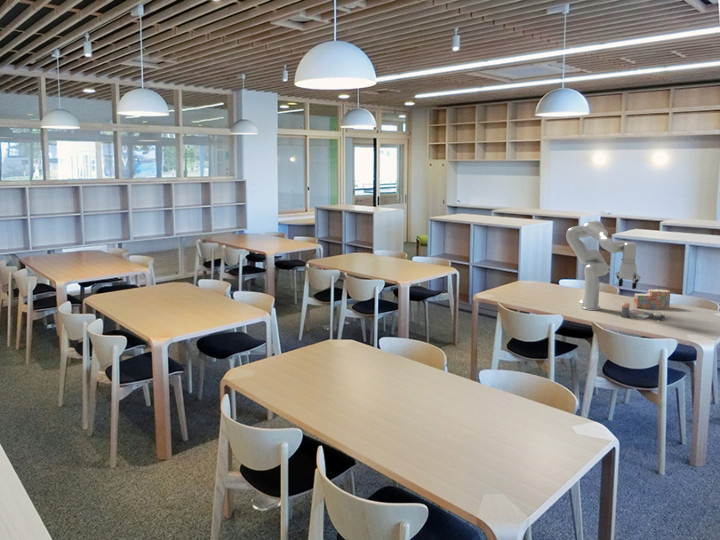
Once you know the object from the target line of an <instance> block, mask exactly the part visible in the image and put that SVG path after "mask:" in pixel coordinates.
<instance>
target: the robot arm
mask: <svg viewBox="0 0 720 540" xmlns="http://www.w3.org/2000/svg"><path fill="white" fill-rule="evenodd" d="M565 234H566V235H565V238H566V241H567V244H568V245H569V246H570V248H571V249H572V251H573V252H574V253H575V255H576V257H577V259H578V260H579V262H580V263H581V264H583V265H585V267H584V268H583V269H584V270H583V274H584V296H583V299H580V301H579V304H581V306H580V307H581V309H583V310H586V309H587V310H586V311H600V310H601V308H602V307H601V306H600V305H599V303H600V287H601V285H600V283H601V282H600V279H599V277H602V276H606V275H607V274H608V273H609V270H610V269H609V266H608V264H607V262H606V261H605V259H604V257H603V255H602V254H601V252H600V251H599V250H597V249H593V248H592V249H589V248H588V247H587V246H586V244H585V243H584V242H583V241H582V240H581V238H582V239H583V238H584V239H585V238H588V237H592V238H593V239H594V240H596V241H598V245H600V247H601V248H602V249H604V250H606V251H607V252H609V253H611V254H617V253H622V258H621V259H620V260H621V263H620V266H619V269H618V270H619V271H617V272H615V276H616V278H617V281H618V287H623V285H624V284H623V283H624V280H630V281H632V285H631V289H632V290H635V289H637V286H638V285H637V284H638V282H640V280H641V279H642V277H641V275H639V274H638V272H637V271H638V270H637V269H638V268H637V264H636V261H637V260H636V259H637V243H636V242H634V241H625V240H615V241H613V240H611V239H610V238H608V236H609V232H608V230H607V229H605V227H604V224H603V223H602V222H601V221H599V220H593V221H588V222H586V223H584V224H583V225H577V226H571V227H570V228H568V229H567V230H566V233H565ZM623 279H624V280H623Z"/></svg>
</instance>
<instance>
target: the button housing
mask: <svg viewBox="0 0 720 540" xmlns="http://www.w3.org/2000/svg"><path fill="white" fill-rule="evenodd" d="M651 314H652V315H649V318H648V319H649V320H652V319H653V320H654V321H657V320H660V321H663V319H664V320H666V319H665V318H666V315H663V314H661V316H660V317H657V316H653V313H651Z"/></svg>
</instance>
